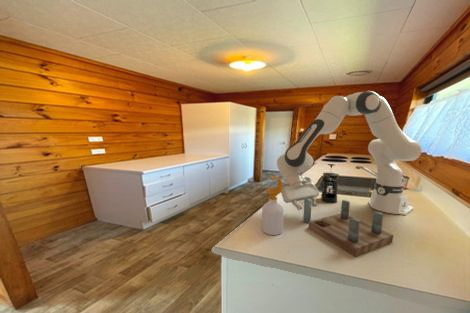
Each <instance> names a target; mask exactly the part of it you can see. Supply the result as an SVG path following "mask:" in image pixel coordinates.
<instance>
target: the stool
mask: <svg viewBox="0 0 470 313" xmlns="http://www.w3.org/2000/svg"><path fill="white" fill-rule="evenodd" d="M350 203H351V202H350V200H346V199H345V200H344V199H343V200H341V206H340V207H341V208H340V213H338V214H334V215H331V216H330V215H329V216H327V217H321V218H318V219H314V220H311V221H309V223H308V229H309V230H311V231H312V232H315V234H318V235H319V236H321V237H323V238H324V239H325V240H328V241H329V242H330V243H332V244H334V245H335V246H338V247H339V248H340V249H342V250H344V251H345V252H347V253H349V254H350V255H353V257H358V256H360V255H364V254H366V253H368V252H371V251H374V250H376V249H379V248H381V247H385V246H386V245H389V244H391V243H393V242H394V241H393V240H394V234H393V233H389V232H387V231H385V230H382V229H383V223H384V222H383V221H384V220H383V218H384V213H383V212H381V211H372V220H371V221H372V223H371V225H370V224H369V223H367V222H364V221H363V220H360V219H358V218H355V217H352V216H350V215H349V214H350V205H351V204H350Z"/></svg>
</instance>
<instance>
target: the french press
mask: <svg viewBox="0 0 470 313" xmlns="http://www.w3.org/2000/svg"><path fill="white" fill-rule="evenodd" d="M327 165H328V166H329V167H330V170H332V168H333V166H336V164H333V163H328V164H327ZM322 176H323V178H324V177H329V179H324V180H323V179H322V181H321V184H322V187H321V195H320V196H321V197H320V201H322V202H323V203H327V204H337V203H338V186H339V181H337V180H338V179H339V176H340V174H338V173H334V172H323V173H322ZM331 179H332V180H331ZM331 187H332V188H331Z"/></svg>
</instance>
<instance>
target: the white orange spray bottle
mask: <svg viewBox="0 0 470 313" xmlns="http://www.w3.org/2000/svg"><path fill="white" fill-rule="evenodd" d="M269 177H270V178H271V179H275V180H277V188H276V189H267V193H268V194H269V195H270V196H269V197H268V198H269V199H268V202H266V203H264V204H263V206H262V208H261V210H262V211H261V231H262V232H263V233H264V234H267V235H270V236H277V235H280V234H283V231H284V212H285V211H284V207H283V206H282V205H281V204H280V203H278V198H277V196H276V195H277V194H281V187H282V184H283V183H282V180H281V178H279V177H278V176H275V175H272V174H269Z"/></svg>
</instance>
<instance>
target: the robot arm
mask: <svg viewBox="0 0 470 313" xmlns="http://www.w3.org/2000/svg"><path fill="white" fill-rule="evenodd" d="M361 115H362V116H363V115H364V116H365V117H364V118H365V119H366V122H367V124H368V127H369V129H370V132H371V134H372V135H373V136H374V137H376V139H372V140H371V141H370V142H369V144H368V147H367V151H368V153H369V154H370V155H371V156H372V157H373V159H374V162H375V166H376V180H375V182H374V185H373V186H374V189H373V190H372V191H371V196H370V200H368V202H367V204H368V205H369V206H370V208H372V209H374V210H376V211H378V212H381V213H388V214H396V215H397V214H398V215H402V216H407V214H409V213H410V212H411V211H413V210H414V206H412V205H409V197H408V196H407V195H405V193H404V191H403V190H406V185H404V184H402V183H403V174H404V172H403V170H402V168H400V167H399V166H398V165H397V162H396V161H400V162H410V161H411V162H413V161H416V160H418V159H419V157H420V156H421V155H422V152H423V149H422V146H421V144H420V143H419V142H417V141H416V140H413V139H412V138H410V137H409V136H408V135H406V134H405V132H404V131H403V130H402V129H401V128H400V126H399V125H398V123H397V120H396V118H395V114H394V113H393V111H392V108H391V107H390V104H389V103H388V101H387V100H386V98H384V97H383V96H381V95H379V94H378V93H376V92H375V91H372V90H371V91H370V90H366V91H361V92H360V91H359V92H354V93H352V94H348V95H345V96H342V95H335V96H332V97H331V98H330V99H329V101H328V102H326V104H325V105H324V107H322V109H321V111H320V112H319V113H318V115H317V117H316V118H315V119H314V120H313V121H312V122H310V123H309V125H308V126H307V127H306V128H305V129H304V130H303V132H302V133H301V135H300V136H299V137H298V139H296V141H295V142H294V143H293V144H292V145H290V146H289V147H288V148H287V149H286V150H285V153H284V154H282V155H280V156H279V157H278V159H277V160H276V166H277V169H278V171H279V174H280V175H281V177H282V178H283V182H284V184H283V183H282V187H281V193H280V194H281V197H282V199H283V202H284V203H285V204H288V203H289V204H290V203H292V205H293V206H294V207H295V208H296V209H297V211H301V210H302V209H303V207H302V205H301V204H299V203H298V202H300V201H304V199H306V198H308V199H311V200H312V204H311V207H313V208H314V207H317V206H318V204H317V202H316V200H317V199H316V198H318V196H320V191H319V189H318V188H317V186H316V185H315V184H314V182H312V181H313V180H312V178H311V177H308V176H304V175H301V173H305V172H306V171H309V170H311V169H312V167H313V165H314V158H313V156H312V155H311V154H309V152H308V149H309V147H311V145H312V144H313V143H314V141H315V139H317V137H319V135H329V134H333V132H335V131H336V130H337V129H338V128H339V126H340V124H341V123H342V121H343V120H344V118H345V117H346V116H352V117H353V116H357V117H358V116H361Z"/></svg>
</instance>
